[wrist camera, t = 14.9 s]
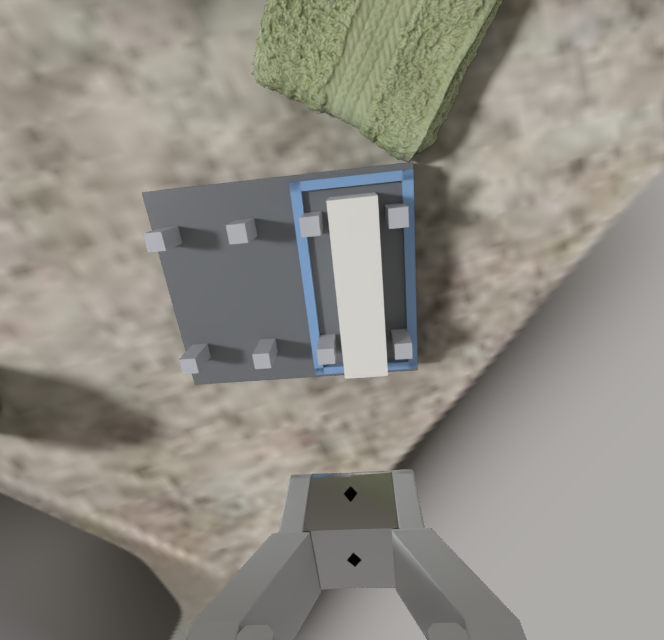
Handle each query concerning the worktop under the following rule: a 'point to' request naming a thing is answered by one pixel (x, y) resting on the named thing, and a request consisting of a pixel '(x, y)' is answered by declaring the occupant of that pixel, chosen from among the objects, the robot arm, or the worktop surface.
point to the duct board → (278, 272)
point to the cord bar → (358, 283)
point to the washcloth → (373, 61)
